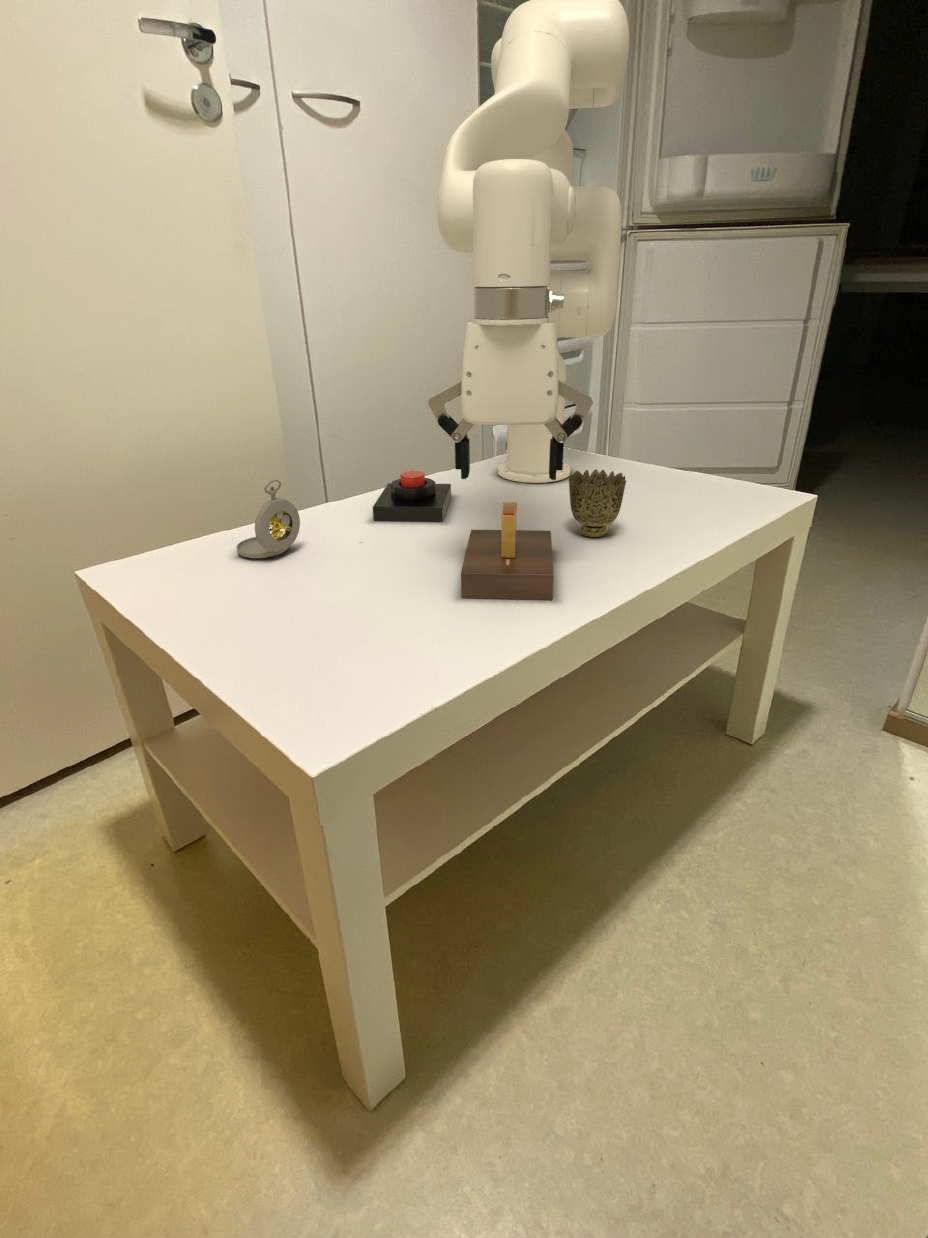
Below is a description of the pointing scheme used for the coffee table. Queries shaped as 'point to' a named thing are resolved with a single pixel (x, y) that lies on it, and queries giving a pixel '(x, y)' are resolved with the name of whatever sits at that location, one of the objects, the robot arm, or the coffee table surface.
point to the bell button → (412, 479)
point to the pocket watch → (280, 517)
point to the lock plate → (508, 566)
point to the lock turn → (508, 530)
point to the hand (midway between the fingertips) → (508, 476)
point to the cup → (595, 500)
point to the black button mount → (412, 502)
